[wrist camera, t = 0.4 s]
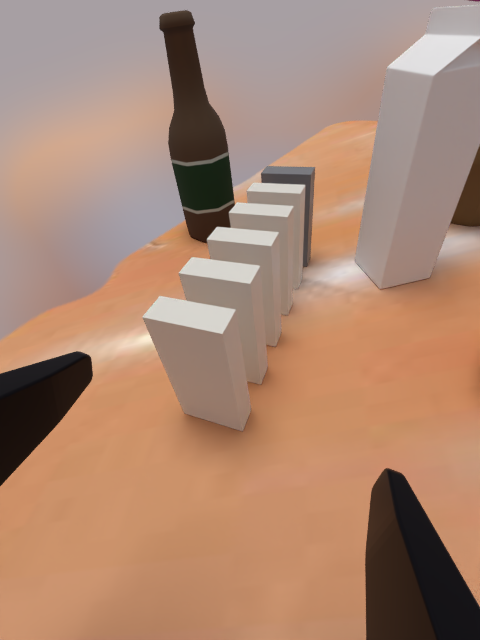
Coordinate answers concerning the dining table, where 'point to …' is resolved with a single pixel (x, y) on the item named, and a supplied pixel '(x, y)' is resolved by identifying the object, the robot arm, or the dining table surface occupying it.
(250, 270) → the domino
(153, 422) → the dining table surface
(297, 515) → the dining table surface
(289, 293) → the domino
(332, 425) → the dining table surface
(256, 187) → the domino
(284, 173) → the domino
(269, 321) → the domino
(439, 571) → the robot arm
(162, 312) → the domino
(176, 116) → the beer bottle
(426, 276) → the milk
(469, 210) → the flowerpot
